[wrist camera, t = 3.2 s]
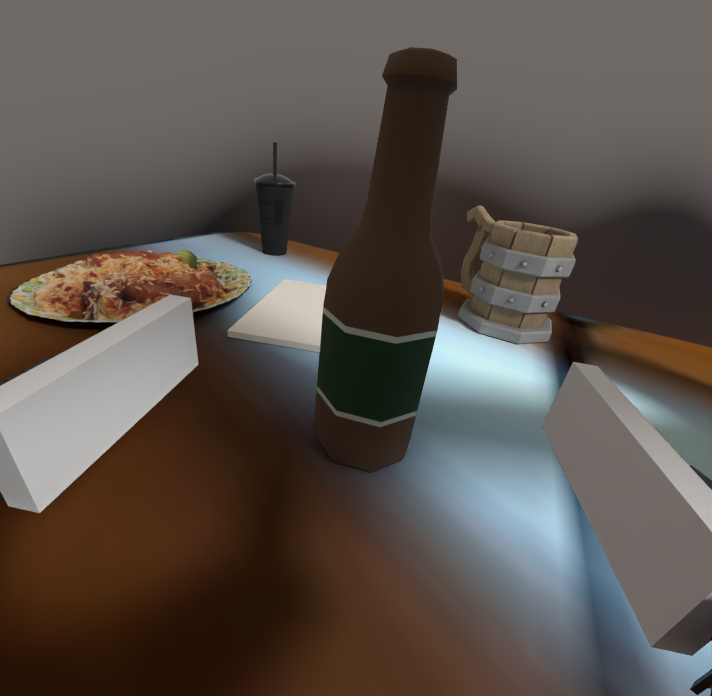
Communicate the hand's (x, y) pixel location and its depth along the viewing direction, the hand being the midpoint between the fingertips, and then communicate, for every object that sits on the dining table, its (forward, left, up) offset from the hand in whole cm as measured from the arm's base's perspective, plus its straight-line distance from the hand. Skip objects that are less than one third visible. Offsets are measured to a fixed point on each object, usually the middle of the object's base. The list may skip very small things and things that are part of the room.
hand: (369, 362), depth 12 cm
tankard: (-16, -44, -13) cm, 48 cm away
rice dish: (+33, -32, -14) cm, 48 cm away
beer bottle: (0, -11, -13) cm, 17 cm away
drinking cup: (+25, -61, -13) cm, 67 cm away
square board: (+7, -33, -13) cm, 36 cm away
